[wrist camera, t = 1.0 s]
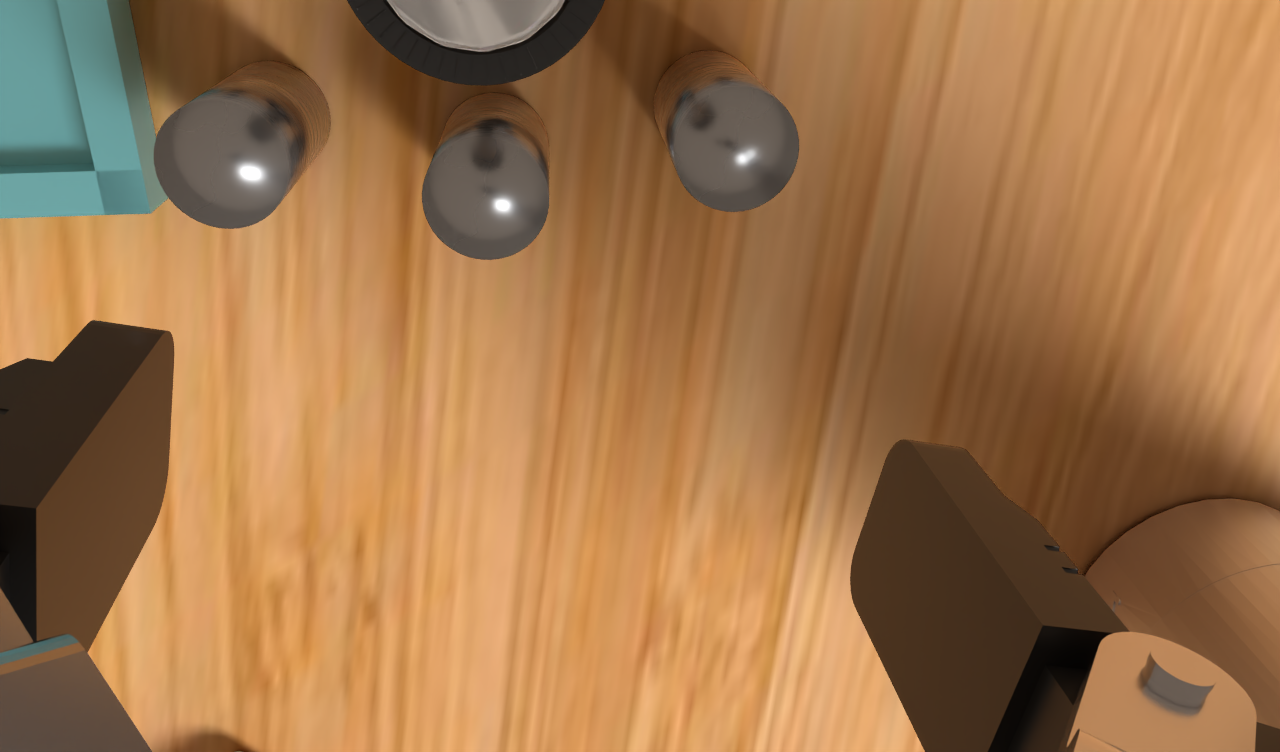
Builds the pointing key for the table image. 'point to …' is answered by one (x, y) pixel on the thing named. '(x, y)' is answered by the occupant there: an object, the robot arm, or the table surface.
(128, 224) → the table surface
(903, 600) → the robot arm
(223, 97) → the standoff cluster
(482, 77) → the push button
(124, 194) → the tray
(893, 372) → the table surface
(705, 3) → the table surface
